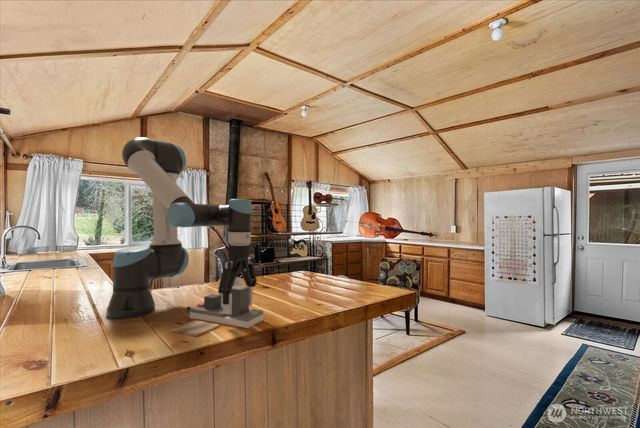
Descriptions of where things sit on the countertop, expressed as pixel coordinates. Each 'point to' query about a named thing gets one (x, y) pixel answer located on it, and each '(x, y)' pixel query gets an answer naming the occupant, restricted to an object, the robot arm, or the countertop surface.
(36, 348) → the countertop surface
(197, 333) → the coaster
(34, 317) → the countertop surface
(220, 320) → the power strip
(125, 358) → the countertop surface
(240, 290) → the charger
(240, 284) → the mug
